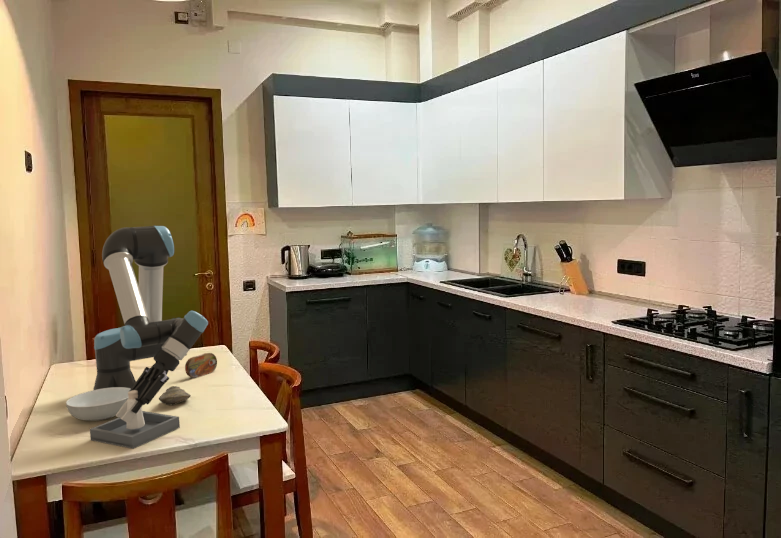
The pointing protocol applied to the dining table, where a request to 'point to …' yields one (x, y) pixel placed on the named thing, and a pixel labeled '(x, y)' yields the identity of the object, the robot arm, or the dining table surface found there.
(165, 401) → the fossilized seashell
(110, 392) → the serving bowl
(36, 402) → the dining table surface
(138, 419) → the salt shaker
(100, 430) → the parts tray
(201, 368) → the tin
